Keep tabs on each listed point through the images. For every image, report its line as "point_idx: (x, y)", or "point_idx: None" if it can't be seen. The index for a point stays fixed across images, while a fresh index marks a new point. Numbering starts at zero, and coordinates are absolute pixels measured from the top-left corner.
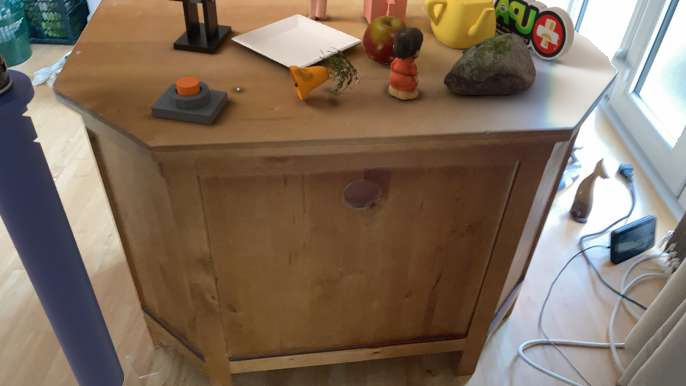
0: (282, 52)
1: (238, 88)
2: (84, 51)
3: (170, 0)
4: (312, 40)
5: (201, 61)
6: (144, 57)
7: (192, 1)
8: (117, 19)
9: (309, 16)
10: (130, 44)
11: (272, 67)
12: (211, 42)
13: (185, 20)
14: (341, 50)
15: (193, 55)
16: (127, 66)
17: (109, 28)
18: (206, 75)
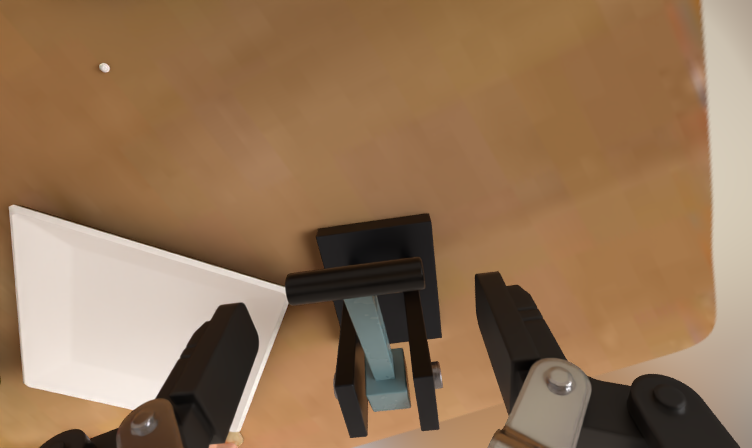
0: (157, 290)
1: (101, 67)
2: (682, 95)
3: (377, 262)
4: (144, 359)
5: (319, 182)
6: (483, 137)
7: (394, 351)
8: (654, 294)
9: (230, 436)
10: (559, 190)
11: (137, 226)
12: (337, 263)
13: (417, 296)
14: (20, 334)
15: (360, 203)
16: (504, 62)
17: (657, 246)
18: (253, 114)
